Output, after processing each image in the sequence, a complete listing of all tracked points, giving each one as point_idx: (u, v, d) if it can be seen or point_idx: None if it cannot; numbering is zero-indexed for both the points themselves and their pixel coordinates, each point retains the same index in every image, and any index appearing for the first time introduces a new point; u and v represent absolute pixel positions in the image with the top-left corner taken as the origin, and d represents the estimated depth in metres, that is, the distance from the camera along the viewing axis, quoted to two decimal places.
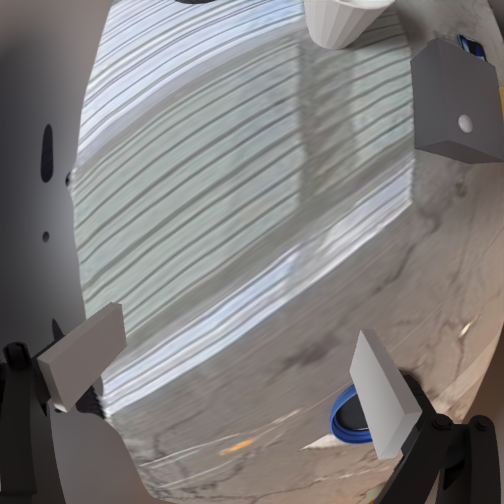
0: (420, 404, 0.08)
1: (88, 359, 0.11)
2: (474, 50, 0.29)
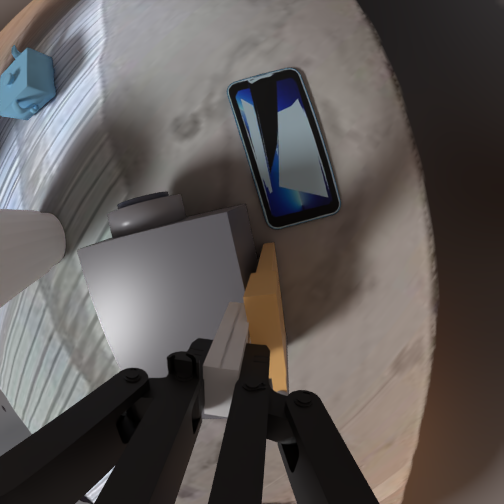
0: (256, 369, 0.11)
1: None
2: (271, 100, 0.24)
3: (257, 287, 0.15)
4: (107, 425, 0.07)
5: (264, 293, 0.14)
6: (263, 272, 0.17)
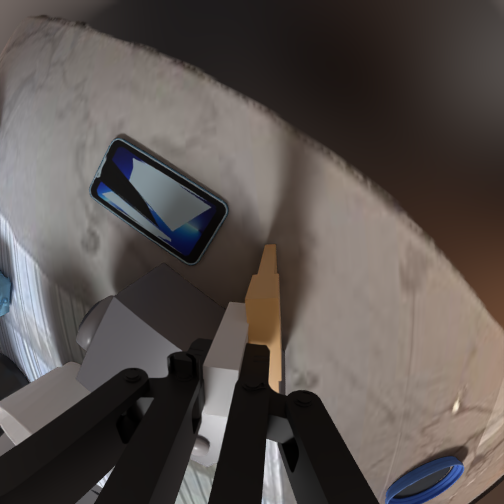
0: (256, 369, 0.11)
1: None
2: (119, 176, 0.26)
3: (259, 290, 0.15)
4: (107, 425, 0.07)
5: (266, 296, 0.14)
6: (265, 274, 0.17)
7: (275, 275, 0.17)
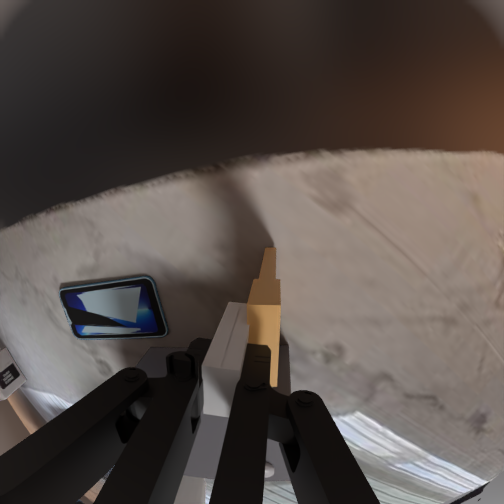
0: (257, 369, 0.11)
1: None
2: (80, 313, 0.30)
3: (261, 295, 0.14)
4: (106, 425, 0.07)
5: (268, 303, 0.13)
6: (266, 279, 0.17)
7: (276, 281, 0.17)
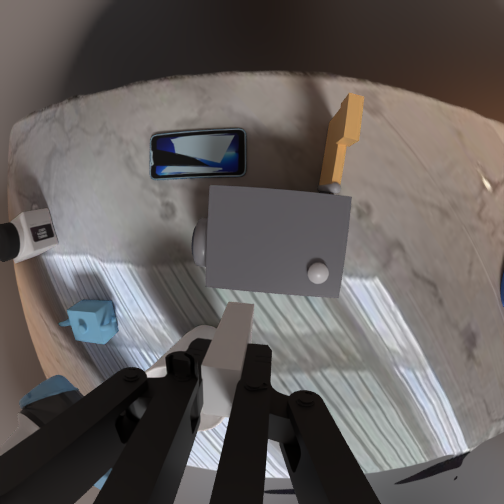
0: (258, 369, 0.11)
1: None
2: (167, 154, 0.40)
3: None
4: (106, 425, 0.07)
5: (358, 95, 0.24)
6: None
7: None
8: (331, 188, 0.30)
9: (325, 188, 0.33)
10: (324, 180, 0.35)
